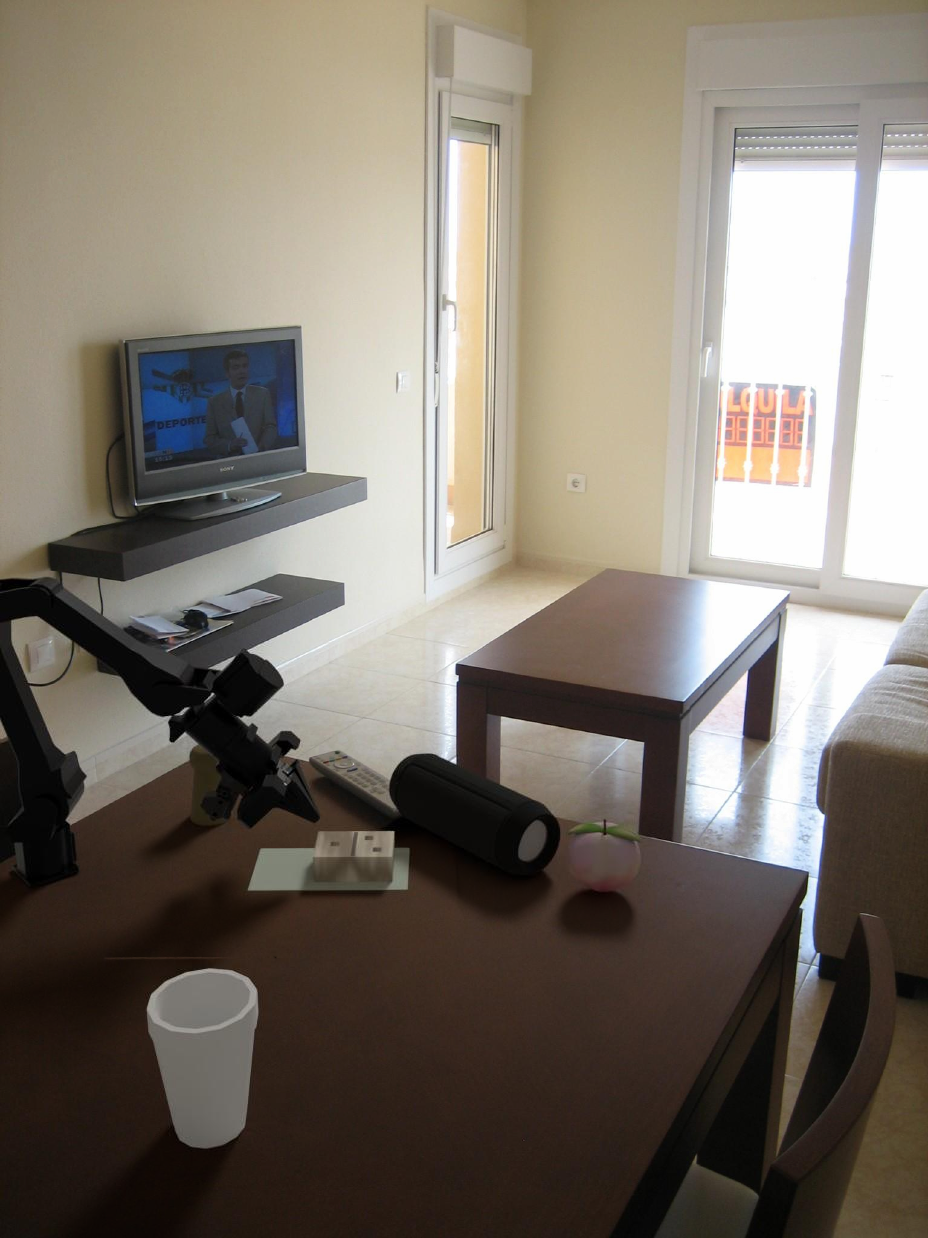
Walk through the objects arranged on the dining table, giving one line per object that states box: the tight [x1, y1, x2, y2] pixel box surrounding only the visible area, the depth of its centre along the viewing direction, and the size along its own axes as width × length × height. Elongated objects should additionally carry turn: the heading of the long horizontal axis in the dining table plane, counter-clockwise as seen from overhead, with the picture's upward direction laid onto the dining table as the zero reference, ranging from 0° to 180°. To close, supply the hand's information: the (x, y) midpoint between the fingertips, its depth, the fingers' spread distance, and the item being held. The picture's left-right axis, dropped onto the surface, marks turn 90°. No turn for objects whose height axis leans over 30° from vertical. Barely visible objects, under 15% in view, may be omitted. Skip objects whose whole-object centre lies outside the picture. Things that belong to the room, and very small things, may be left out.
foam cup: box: [146, 967, 259, 1149], centre depth 103 cm, size 10×9×13 cm
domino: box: [313, 830, 395, 882], centre depth 149 cm, size 4×7×10 cm
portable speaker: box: [388, 752, 562, 876], centre depth 155 cm, size 26×10×10 cm, turn 42°
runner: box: [247, 847, 411, 892], centre depth 149 cm, size 20×11×1 cm, turn 91°
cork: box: [188, 743, 234, 827], centre depth 162 cm, size 6×6×11 cm
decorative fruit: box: [566, 818, 644, 893], centre depth 143 cm, size 9×8×10 cm
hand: (318, 820), depth 147 cm, fingers closed
